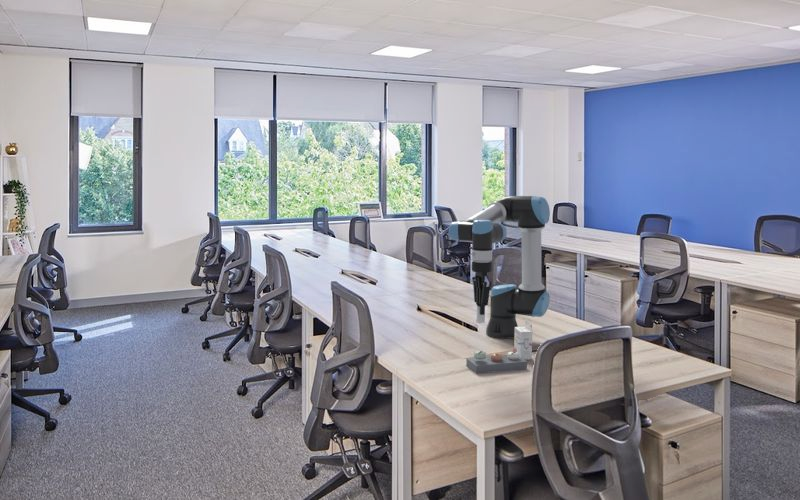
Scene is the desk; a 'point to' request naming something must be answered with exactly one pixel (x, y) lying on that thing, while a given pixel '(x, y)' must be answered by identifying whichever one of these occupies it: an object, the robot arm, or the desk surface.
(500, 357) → the terracotta button
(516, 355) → the cream button
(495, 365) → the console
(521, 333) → the ink cartridge box
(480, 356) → the sage button
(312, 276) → the desk surface
